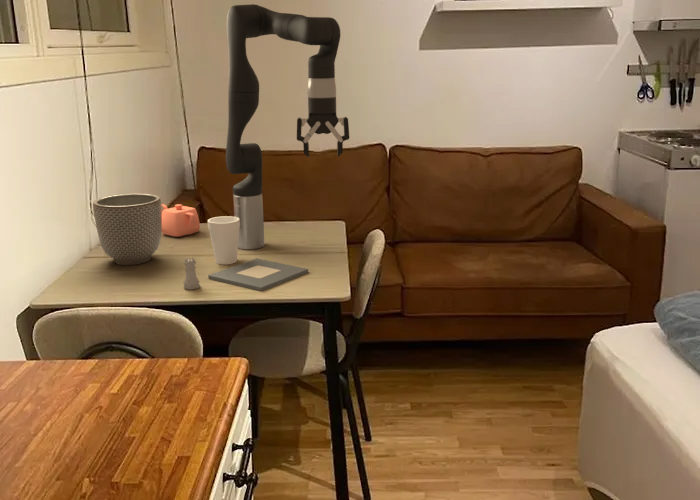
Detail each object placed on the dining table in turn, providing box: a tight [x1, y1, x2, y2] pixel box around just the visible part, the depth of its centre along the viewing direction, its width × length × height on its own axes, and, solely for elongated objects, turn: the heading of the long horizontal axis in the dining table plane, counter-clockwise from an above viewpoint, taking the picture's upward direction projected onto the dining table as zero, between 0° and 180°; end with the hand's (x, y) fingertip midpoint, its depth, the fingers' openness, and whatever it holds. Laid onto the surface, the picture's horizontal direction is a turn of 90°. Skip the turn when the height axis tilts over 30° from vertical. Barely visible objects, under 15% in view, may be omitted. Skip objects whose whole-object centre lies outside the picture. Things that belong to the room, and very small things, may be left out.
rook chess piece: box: [182, 257, 201, 291], centre depth 197 cm, size 4×4×8 cm
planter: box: [92, 193, 162, 266], centre depth 222 cm, size 20×20×19 cm
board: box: [207, 257, 309, 292], centre depth 207 cm, size 20×20×1 cm
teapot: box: [161, 203, 201, 238], centre depth 255 cm, size 12×18×10 cm, turn 50°
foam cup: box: [207, 215, 240, 265], centre depth 220 cm, size 10×9×13 cm
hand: (323, 156), depth 199 cm, fingers open, 8 cm apart
